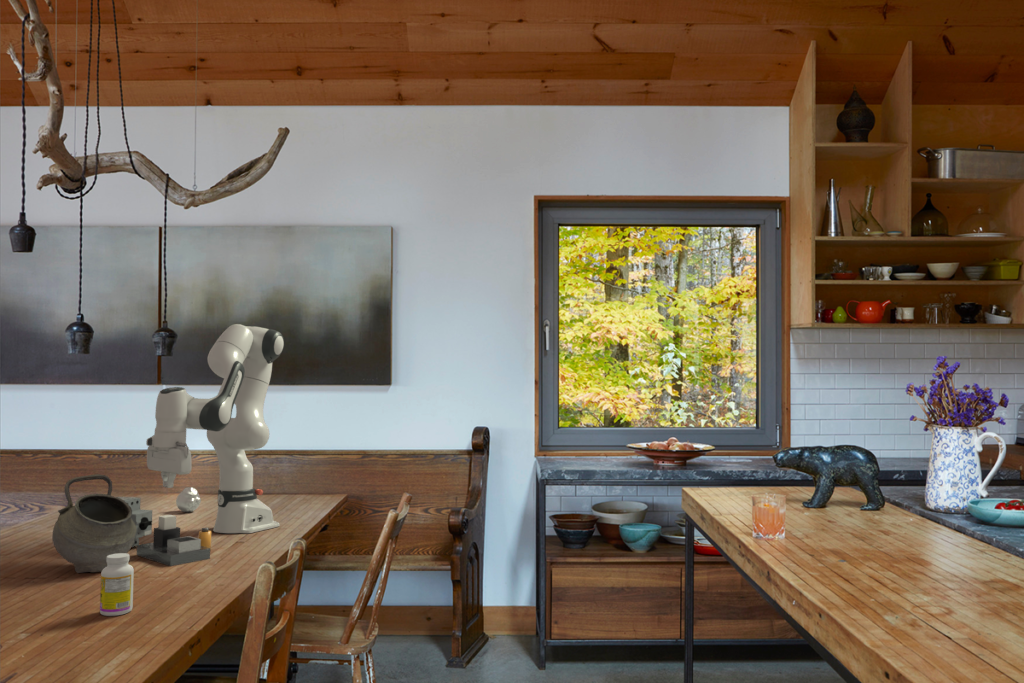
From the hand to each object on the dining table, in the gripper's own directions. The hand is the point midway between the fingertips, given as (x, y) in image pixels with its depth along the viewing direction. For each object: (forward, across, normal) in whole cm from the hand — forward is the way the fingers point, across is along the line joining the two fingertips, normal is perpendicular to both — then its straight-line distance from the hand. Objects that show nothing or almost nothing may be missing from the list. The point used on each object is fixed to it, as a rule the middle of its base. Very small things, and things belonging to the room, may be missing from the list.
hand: (168, 487), depth 229 cm
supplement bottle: (+21, -45, +34) cm, 60 cm away
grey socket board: (+20, -4, 0) cm, 21 cm away
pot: (+21, 0, +20) cm, 29 cm away
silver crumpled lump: (+20, +62, -42) cm, 77 cm away
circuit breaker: (+20, +18, +2) cm, 27 cm away
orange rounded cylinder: (+20, -4, -10) cm, 23 cm away
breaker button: (+14, 0, 0) cm, 14 cm away
